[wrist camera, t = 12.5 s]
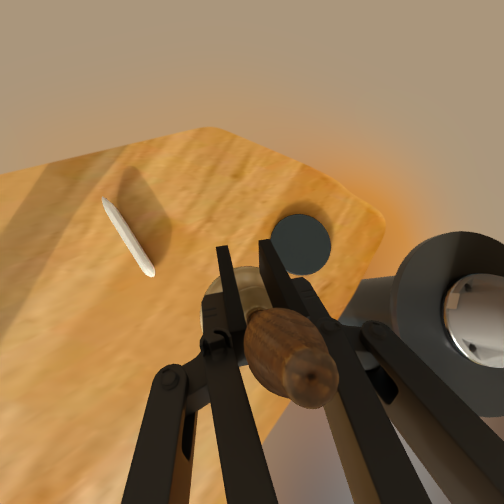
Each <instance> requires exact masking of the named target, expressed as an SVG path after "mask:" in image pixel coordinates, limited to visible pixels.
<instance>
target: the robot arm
mask: <svg viewBox="0 0 504 504" xmlns="http://www.w3.org/2000/svg"><path fill="white" fill-rule="evenodd" d="M216 251H217V258H218V264H219V271H220V277H221V283H222V290H223V292H218V293H213V294H207V295H205V296H204V298H203V300H202V302H201V303H202V322H203V335H202V337H201V339H200V349H201V352H200V353H199V355H198V356H197V357H196V358H194V359H193V360H191V361H190V362H188V363H186V364H184V365H182V366H181V365H179V364H171V365H167V366H165V367H164V368H162V369H160V371H159V372H158V373H157V374H156V375H155V378H154V380H153V382H152V386H151V390H150V394H149V398H148V401H147V405H146V409H145V413H144V417H143V421H142V425H141V428H140V432H139V436H138V440H137V444H136V448H135V451H134V455H133V459H132V463H131V467H130V471H129V474H128V478H127V482H126V486H125V490H124V494H123V498H122V501H121V504H189V496H190V486H191V476H192V466H193V456H194V446H195V435H196V425H197V415H198V410H199V409H201V408H203V407H204V406H206V405H207V404H209V403H211V409H212V415H213V421H214V427H215V433H216V439H217V445H218V451H219V457H220V463H221V469H222V475H223V481H224V487H225V493H226V499H227V504H278V501H277V497H276V494H275V490H274V487H273V483H272V480H271V476H270V473H269V470H268V466H267V463H266V459H265V456H264V452H263V449H262V445H261V442H260V438H259V435H258V431H257V428H256V425H255V421H254V418H253V414H252V411H251V407H250V404H249V400H248V397H247V394H246V390H245V387H244V383H243V380H242V376H241V373H240V369H239V367H240V366H244V365H248V362H247V360H246V357H245V353H244V335H245V331H246V328H247V325H246V320H245V316H244V312H243V308H242V304H241V299H240V295H239V291H238V287H237V282H236V278H235V274H234V270H233V266H232V261H231V257H230V253H229V249H228V245H225V246H219V247H216ZM259 272H260V275H261V278H262V280H263V283H264V286H265V288H266V291H267V294H268V297H269V299H270V302H271V305H272V307H273V308H285V309H289V310H293V311H296V312H298V313H299V314H301V315H303V316H304V317H306V318H308V319H309V320H310V321H311V322H312V323H313V324H314V325H315V326H316V328H317V329H318V331H319V332H320V334H321V335H322V337H323V339H324V342H325V344H326V346H327V349H328V352H329V355H330V356H331V357H332V358H333V360H334V361H335V363H336V366H337V370H338V374H339V384H338V387H337V391H336V393H335V396H334V397H333V398H332V400H331V401H330V402H328V403H327V404H326V405H324V406H323V407H324V410H325V413H326V416H327V419H328V422H329V425H330V429H331V432H332V435H333V438H334V441H335V444H336V447H337V451H338V454H339V457H340V460H341V463H342V466H343V469H344V472H345V476H346V479H347V482H348V485H349V488H350V491H351V495H352V498H353V501H354V504H432V503H431V501H430V499H429V497H428V495H427V493H426V491H425V489H424V487H423V485H422V483H421V481H420V479H419V477H418V475H417V473H416V471H415V469H414V467H413V465H412V463H411V461H410V459H409V457H408V455H407V453H406V451H405V449H404V447H403V445H402V443H401V441H400V439H399V438H398V435H397V433H396V431H395V429H394V427H393V425H392V424H391V422H392V423H393V424H394V426H395V427H396V428H397V430H398V431H399V433H400V434H401V435H402V437H403V438H404V439H405V441H406V442H407V443H408V445H409V446H410V447H411V449H412V450H413V452H414V453H415V454H416V456H417V457H418V459H419V460H420V461H421V463H422V464H423V465H424V466H425V468H426V469H427V471H428V472H429V474H430V475H431V476H432V478H433V479H434V480H435V482H436V483H437V485H438V486H439V487H440V489H441V490H442V491H443V493H444V494H445V495H446V497H447V498H448V500H449V501H450V502H451V504H504V441H503V440H502V439H501V438H500V437H499V436H498V435H497V434H496V433H494V431H493V430H492V429H491V428H490V427H489V426H488V425H486V423H484V422H483V420H482V419H480V417H479V416H478V415H477V414H476V413H475V412H473V411H472V410H471V409H470V408H469V407H468V406H467V405H466V404H465V403H464V402H463V401H462V400H461V399H460V398H459V397H458V396H457V395H456V394H455V393H454V392H453V391H452V390H451V389H450V388H449V387H448V386H447V385H446V384H445V383H444V382H443V381H442V380H441V379H440V378H439V377H438V376H437V375H436V374H435V373H434V372H433V371H432V370H431V369H430V368H429V367H428V366H427V365H426V364H425V363H424V362H423V361H422V360H421V359H420V358H419V357H418V356H417V355H416V354H415V353H414V352H413V351H412V350H411V349H410V348H409V347H408V346H407V345H406V344H405V343H404V342H403V341H402V340H401V339H400V338H399V337H398V336H397V335H396V334H395V333H394V332H393V331H392V330H391V329H390V328H389V327H387V326H386V325H385V324H383V323H381V322H378V321H373V320H371V321H366V322H365V323H363V325H362V327H355V326H346V325H342V324H340V322H338V321H337V320H335V319H333V318H331V316H330V315H329V314H328V312H327V310H326V309H325V307H324V305H323V304H322V302H321V300H320V299H319V297H318V296H317V294H316V292H315V291H314V289H313V287H312V286H311V284H310V282H308V281H307V280H306V279H305V278H303V277H299V278H294V279H291V278H290V277H289V275H288V273H287V271H286V269H285V267H284V265H283V263H282V261H281V259H280V257H279V256H278V254H277V252H276V250H275V248H274V246H273V244H272V242H271V240H270V239H265V240H259ZM440 319H441V324H442V328H443V331H444V333H445V335H446V338H447V339H448V341H449V343H450V344H451V345H452V347H453V348H454V349H455V350H456V351H457V352H458V353H459V354H460V355H461V356H462V357H464V358H465V359H467V360H469V361H471V362H473V363H476V364H480V365H484V366H488V367H494V368H504V277H502V276H497V275H492V274H484V273H477V274H467V275H463V276H460V277H458V278H456V279H454V280H453V281H452V282H451V283H450V284H449V285H448V286H447V288H446V289H445V291H444V293H443V296H442V299H441V303H440ZM390 420H391V421H390Z"/></svg>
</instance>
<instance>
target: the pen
mask: <svg viewBox="0 0 504 504" xmlns="http://www.w3.org/2000/svg"><path fill="white" fill-rule="evenodd" d="M102 202H103V206H104V209H105V211H106V213H107V215H108V216H109V218H110V220H111V221H112V223H113V224H114V226H115V228H116V229H117V231H118V233H119V234H120V236H121V237H122V239H123V241H124V242H125V244H126V245H127V247H128V249H129V250H130V252H131V253H132V255H133V256H134V258H135V260H136V261H137V263H138V264H139V266H140V267H141V269H142V270H143V272H144V273H145V274H146V275H147V276H150V277H154V276H155V268H154V266H153V264H152V263H151V261H150V260H149V258H148V256H147V255H146V253H145V252H144V250H143V248H142V247H141V245H140V244H139V242H138V241H137V239H136V237H135V236H134V234H133V233H132V231H131V229H130V228H129V226H128V225H127V223H126V222H125V220H124V218H123V217H122V215H121V214H120V212H119V211H118V209H117V208H116V207H115V206H114V205H113V204H112V203H111V202H110V201H109V200H107V199H106V198H104V197H103V196H102Z"/></svg>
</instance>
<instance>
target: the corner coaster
mask: <svg viewBox="0 0 504 504" xmlns="http://www.w3.org/2000/svg"><path fill="white" fill-rule="evenodd" d="M270 240H271V242H272V244H273V246H274V248H275V250H276V252H277V254H278V256H279V257H280V259H281V261H282V263H283V265H284V267H285V269H286V271H287V272H289V273H292V274H295V275H309V274H312V273H315V272H317V271H318V270H320V269H321V268H322V267H323V266H324V265H325V264H326V262H327V260H328V258H329V256H330V251H331V242H330V238H329V235H328V232H327V231H326V229H325V228H324V226H323V225H322V224H321V223H320V222H319V221H318V220H316V219H314V218H313V217H310V216H307V215H303V214H295V215H290V216H287V217H285V218H284V219H282V220H281V221H280V222H279V223H278V224H277V225H276V226H275V228H274V230H273V232H272V234H271V239H270Z"/></svg>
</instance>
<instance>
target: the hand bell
mask: <svg viewBox="0 0 504 504" xmlns="http://www.w3.org/2000/svg"><path fill="white" fill-rule="evenodd" d="M233 270H234V274H235V278H236V282H237V287H238V291H239V295H240V299H241V304H242V308H243V312H244V316H245V320H246V325H247V328H246V331H245V335H244V353H245V357H246V360H247V362H248V365H249V368H250V370H251V372H252V373H253V375H254V376H255V378H256V379H257V380H258V381H259V383H260V384H261V385H262V386H264V387H265V388H266V389H267V390H269V391H270V392H272V393H274V394H277V395H279V396H282V397H285V398H289V399H291V400H292V401H293V402H294V403H296V404H297V405H299V406H302V407H304V408H307V409H317V408H320V407H322V406H324V405H326V404H327V403H328V402H330V401H331V400H332V398H333V397H334V396H335V393H336V391H337V387H338V384H339V374H338V370H337V366H336V363H335V361H334V360H333V358H332V357H331V356H330V355H329V352H328V349H327V346H326V344H325V342H324V339H323V337H322V335H321V334H320V332H319V331H318V329H317V328H316V326H315V325H314V324H313V323H312V322H311V321H310V320H309V319H308V318H306V317H304V316H303V315H301V314H299V313H298V312H296V311H293V310H289V309H285V308H273V307H272V305H271V302H270V299H269V297H268V294H267V291H266V288H265V286H264V283H263V280H262V278H261V275H260V272H259V267H252V266H244V267H238V268H234V269H233ZM218 292H223V290H222V283H221V277H220V276H219V277H218V278H216V279H215V280H214V281H213V282H212V284H211V285H210V286H209V288H208V289H207V291H206V293H205V295H207V294H213V293H218ZM205 295H204V296H205ZM203 298H204V297H203ZM200 324H201V328H202V332H203V322H202V304H201V309H200Z"/></svg>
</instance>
